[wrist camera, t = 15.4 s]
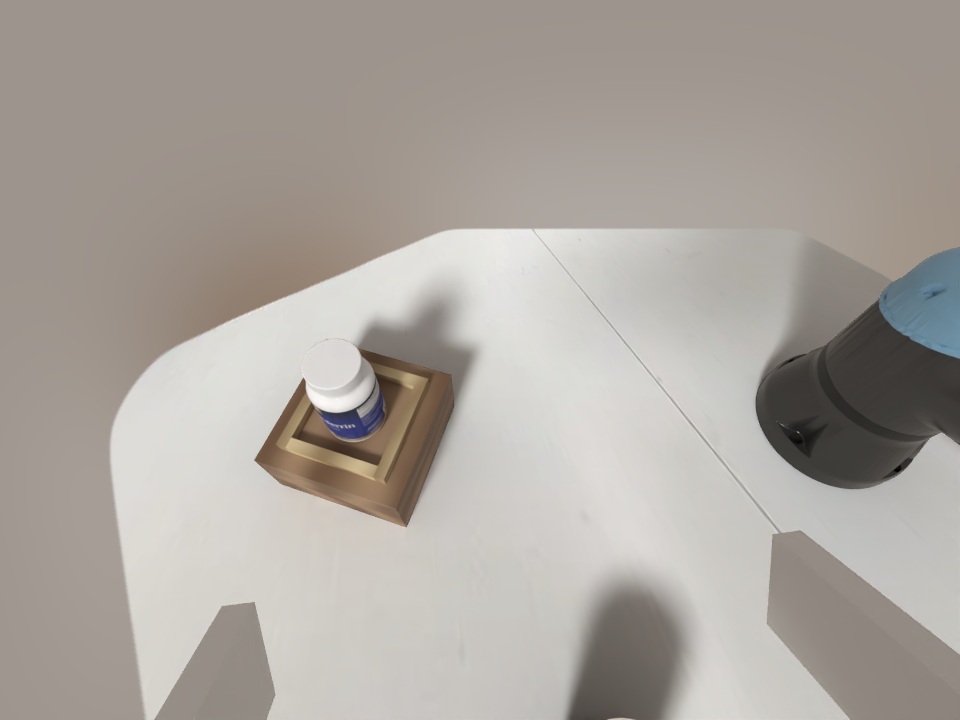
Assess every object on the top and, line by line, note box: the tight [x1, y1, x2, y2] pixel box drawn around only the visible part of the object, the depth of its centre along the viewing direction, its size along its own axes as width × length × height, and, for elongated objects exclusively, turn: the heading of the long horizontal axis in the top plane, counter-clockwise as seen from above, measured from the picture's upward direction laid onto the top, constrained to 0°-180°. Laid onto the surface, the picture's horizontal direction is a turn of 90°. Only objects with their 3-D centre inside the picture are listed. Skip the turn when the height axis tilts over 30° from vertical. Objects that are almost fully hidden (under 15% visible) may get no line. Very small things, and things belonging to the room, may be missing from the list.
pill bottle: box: [302, 339, 387, 442], centre depth 42 cm, size 6×6×10 cm
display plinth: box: [254, 339, 454, 527], centre depth 49 cm, size 14×14×8 cm
